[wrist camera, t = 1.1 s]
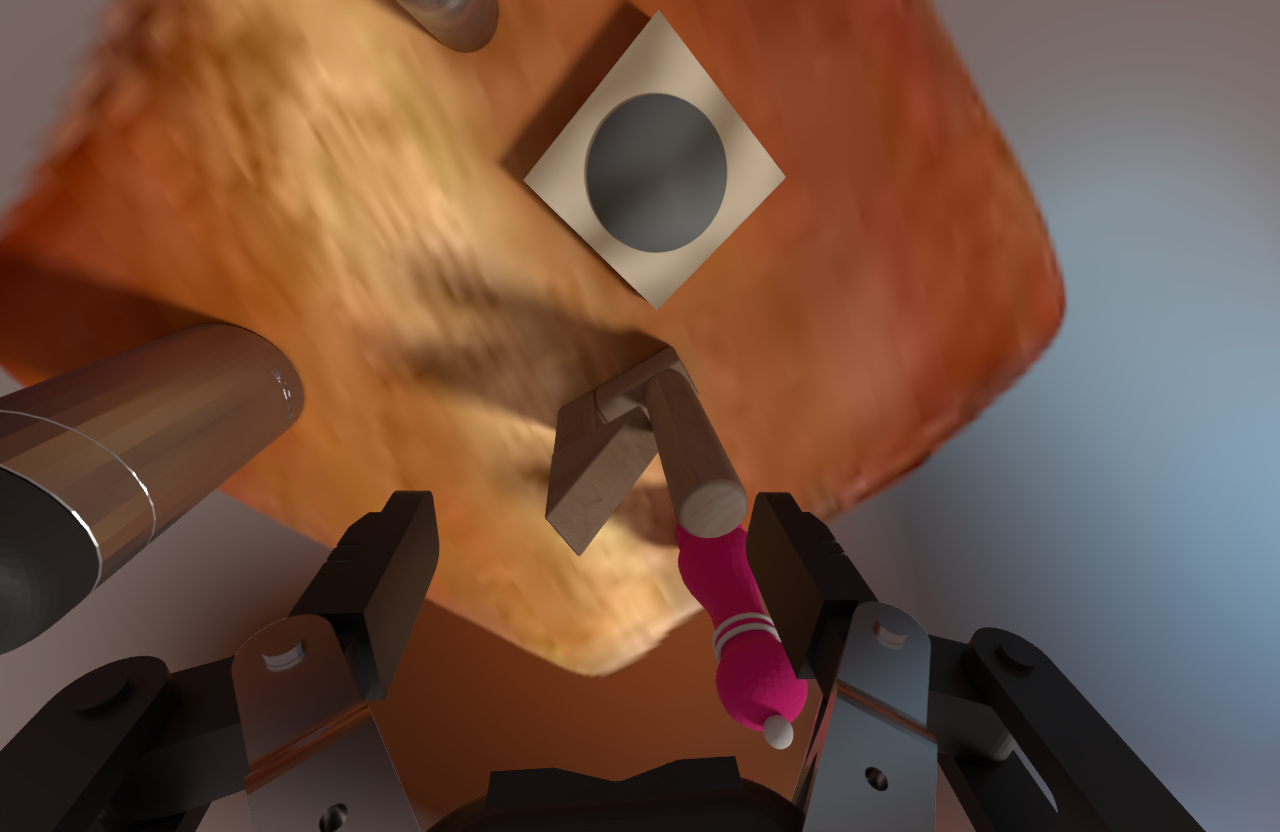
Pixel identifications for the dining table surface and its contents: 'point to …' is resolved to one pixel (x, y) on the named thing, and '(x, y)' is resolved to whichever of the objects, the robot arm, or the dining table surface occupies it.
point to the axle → (457, 21)
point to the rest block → (655, 166)
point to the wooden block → (641, 454)
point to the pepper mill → (742, 636)
